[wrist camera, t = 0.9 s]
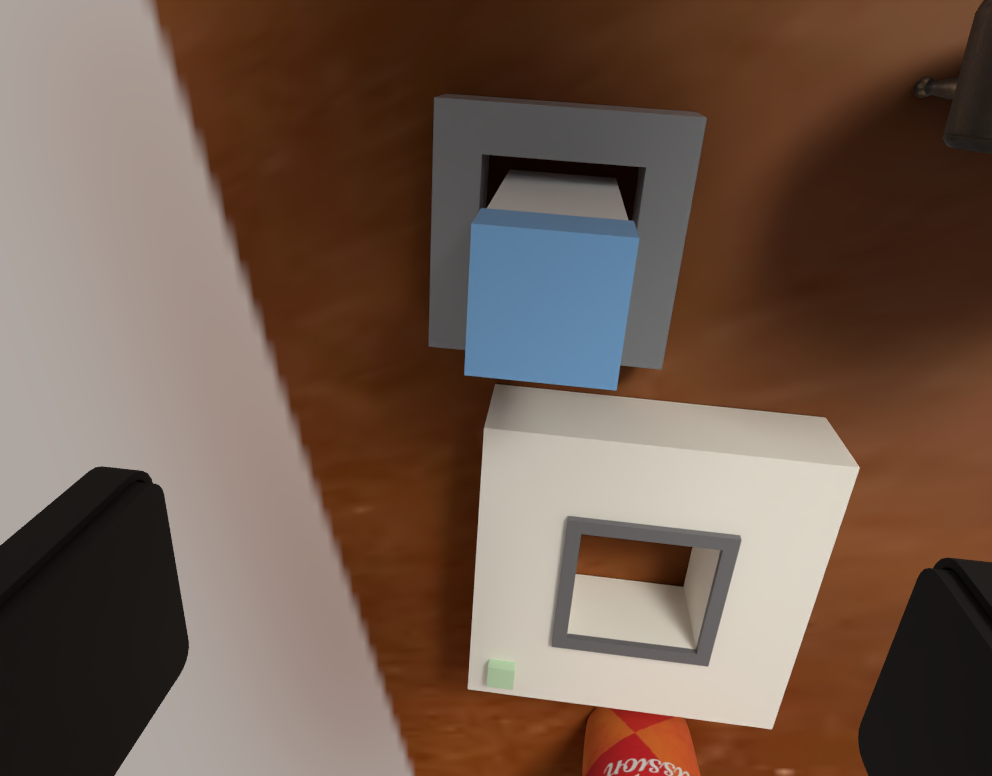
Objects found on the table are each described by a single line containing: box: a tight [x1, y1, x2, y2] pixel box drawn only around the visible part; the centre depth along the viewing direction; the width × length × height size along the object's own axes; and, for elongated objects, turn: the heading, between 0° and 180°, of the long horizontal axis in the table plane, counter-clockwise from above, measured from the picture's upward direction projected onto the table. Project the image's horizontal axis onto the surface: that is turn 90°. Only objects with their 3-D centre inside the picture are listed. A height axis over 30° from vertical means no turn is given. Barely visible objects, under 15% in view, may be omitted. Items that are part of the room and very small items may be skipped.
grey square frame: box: [429, 94, 707, 369], centre depth 26 cm, size 9×9×2 cm
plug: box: [464, 170, 640, 390], centre depth 23 cm, size 4×4×10 cm
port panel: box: [468, 384, 860, 729], centre depth 31 cm, size 14×14×4 cm
